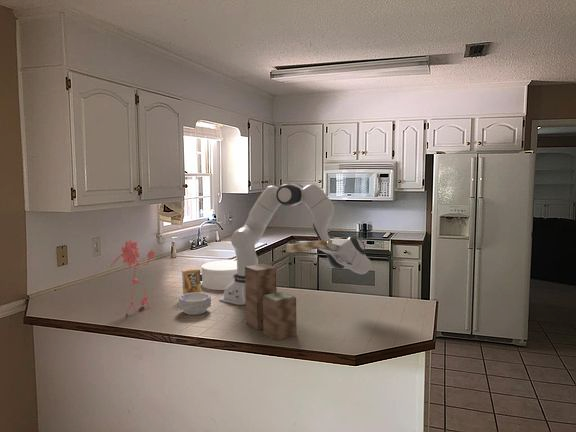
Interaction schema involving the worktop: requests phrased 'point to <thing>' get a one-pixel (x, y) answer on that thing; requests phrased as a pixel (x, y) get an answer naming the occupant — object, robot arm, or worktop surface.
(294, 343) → the worktop surface
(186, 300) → the paper bowls
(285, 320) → the low stand
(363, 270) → the robot arm
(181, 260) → the worktop surface
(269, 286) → the tall stand
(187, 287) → the candy box
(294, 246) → the beech bar
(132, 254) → the pink flowering sprig
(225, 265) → the plate stack
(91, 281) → the worktop surface
